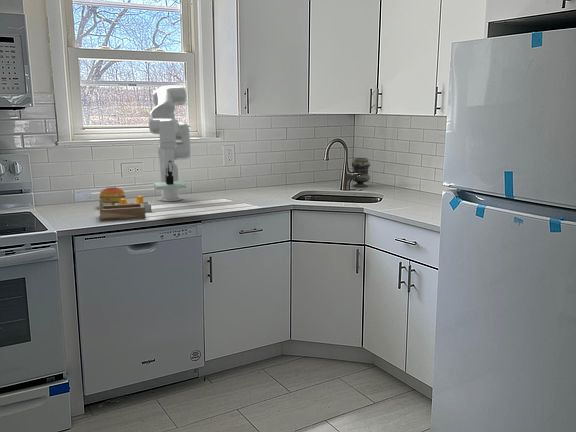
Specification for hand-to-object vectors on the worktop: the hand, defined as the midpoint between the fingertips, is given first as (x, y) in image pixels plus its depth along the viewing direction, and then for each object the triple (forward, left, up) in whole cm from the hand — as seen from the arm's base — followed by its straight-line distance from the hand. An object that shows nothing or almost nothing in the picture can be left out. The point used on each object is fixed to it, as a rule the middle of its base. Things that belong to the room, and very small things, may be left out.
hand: (169, 183), depth 275 cm
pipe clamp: (-12, -17, -15) cm, 25 cm away
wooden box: (+2, -23, -15) cm, 27 cm away
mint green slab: (0, 0, -2) cm, 2 cm away
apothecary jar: (-46, +126, -15) cm, 135 cm away
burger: (-28, -26, -15) cm, 41 cm away
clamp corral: (-12, -17, -15) cm, 25 cm away
